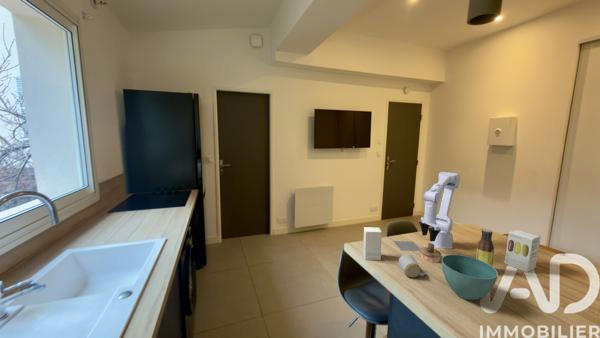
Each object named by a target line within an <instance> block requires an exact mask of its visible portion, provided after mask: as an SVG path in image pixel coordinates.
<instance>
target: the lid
mask: <svg viewBox="0 0 600 338" xmlns="http://www.w3.org/2000/svg"><path fill="white" fill-rule="evenodd" d="M419 252H420V253H422V254H424V255H426V256H429V257H434V258H438V257H441V258H442V252H440V251H439V250H437V248H435V246H434V244H432V243H430V242H428V243H427V247H420V251H419Z"/></svg>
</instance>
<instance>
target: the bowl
mask: <svg viewBox="0 0 600 338" xmlns="http://www.w3.org/2000/svg"><path fill="white" fill-rule="evenodd" d="M420 253H421V252H420ZM420 257H421V258H422V260H424V261H426V262H429V263H432V264H433V263H441V259H442V256H441V257H438V258H434V257H429V256H426V255H424V254H422V253H421V254H420Z"/></svg>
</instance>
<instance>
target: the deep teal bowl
mask: <svg viewBox="0 0 600 338" xmlns="http://www.w3.org/2000/svg"><path fill="white" fill-rule="evenodd" d="M441 269H442V273H443V275H444V276H443V277H444V278H445V281H446V283H447V284H448V287H450V289H451V290H452V292H453V293H454V294H455V295H456V296H458V297H460V298H462V299H465V300H469V301H477V300H479V299H481V298H483V297H485V296H486V295H488V294H489V293H490V292H491V290H493V288H494V286H495V285H496V282H497V279H498V276H499V273H498V271H497V269H496V268H494V267H493V266H490V265H489V264H487V263H485V262H483V261H481V260H478V259H476V258H475V257H471V256H468V255H461V254H445V255H444V256H441Z"/></svg>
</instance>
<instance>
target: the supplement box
mask: <svg viewBox="0 0 600 338" xmlns="http://www.w3.org/2000/svg"><path fill="white" fill-rule="evenodd" d="M540 242H541V235H538V234H534V233H530V232H526V231H523V230H520V229H516V230H515V229H514V230H512V231H510V232H508V236H507V242H506V249H505V256H504V263H503V264H505V265H507V266H510V267H513V268H514V269H518V270H521V271H523V272H526V273H529V272H531V271H532V270H534V269H536V268H537V267H536V266H537V262H538V255H539V254H538V253H539V248H540Z"/></svg>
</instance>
